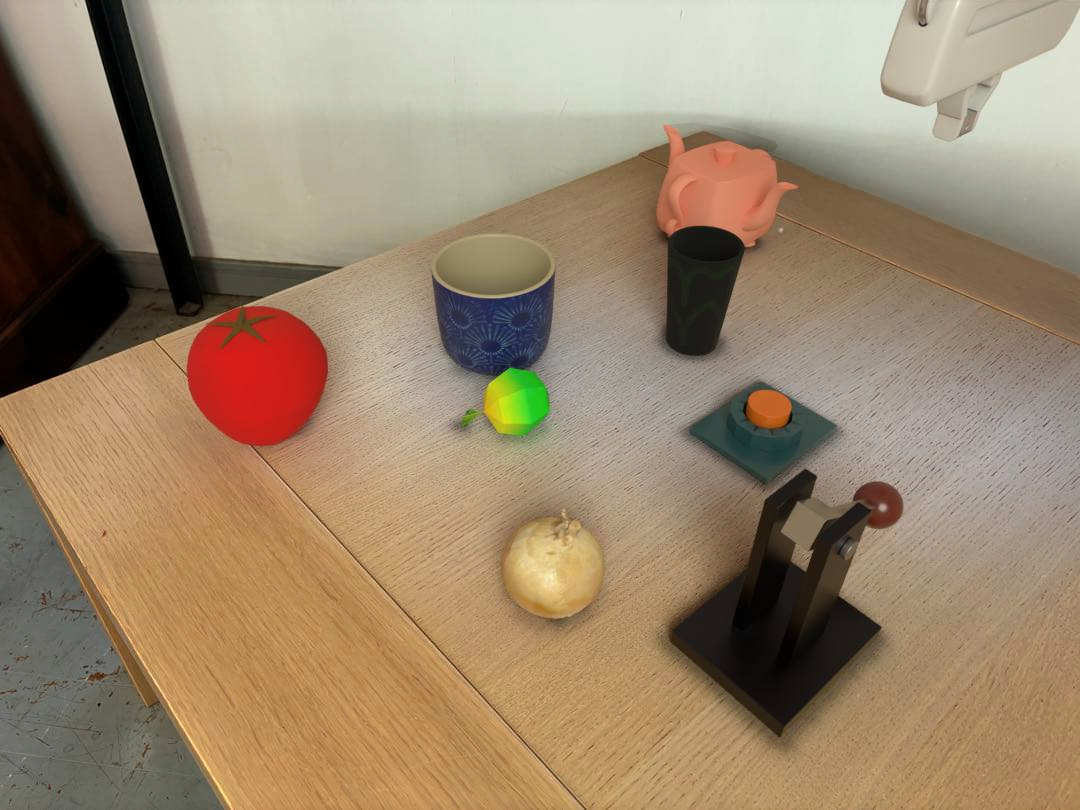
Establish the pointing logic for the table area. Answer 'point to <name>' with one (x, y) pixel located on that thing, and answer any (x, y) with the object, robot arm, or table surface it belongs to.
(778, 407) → the button
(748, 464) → the button box
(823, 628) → the bracket
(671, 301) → the cup
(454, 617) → the table surface
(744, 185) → the teapot
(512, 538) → the onion
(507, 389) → the apple
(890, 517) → the lever
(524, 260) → the planter
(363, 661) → the table surface
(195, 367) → the tomato
